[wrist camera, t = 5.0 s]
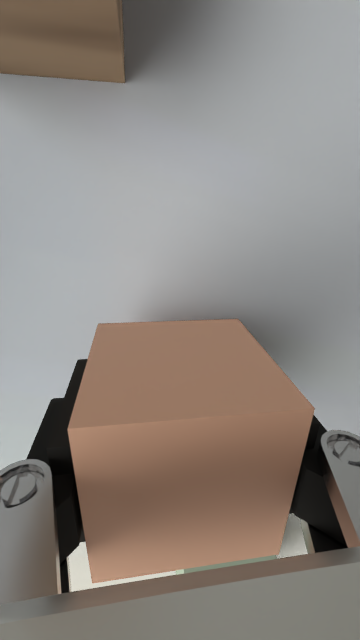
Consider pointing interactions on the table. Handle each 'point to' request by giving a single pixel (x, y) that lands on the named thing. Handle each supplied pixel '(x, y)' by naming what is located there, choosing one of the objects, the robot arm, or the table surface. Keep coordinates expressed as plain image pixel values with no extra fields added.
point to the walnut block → (63, 39)
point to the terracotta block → (183, 447)
